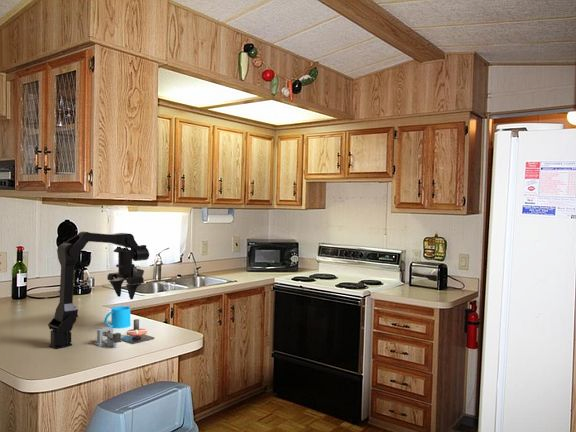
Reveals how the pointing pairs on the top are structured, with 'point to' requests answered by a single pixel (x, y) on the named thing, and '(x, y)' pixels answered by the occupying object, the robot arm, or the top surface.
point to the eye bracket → (100, 340)
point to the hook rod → (113, 336)
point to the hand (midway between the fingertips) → (125, 297)
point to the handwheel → (136, 329)
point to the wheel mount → (136, 339)
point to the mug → (119, 317)
